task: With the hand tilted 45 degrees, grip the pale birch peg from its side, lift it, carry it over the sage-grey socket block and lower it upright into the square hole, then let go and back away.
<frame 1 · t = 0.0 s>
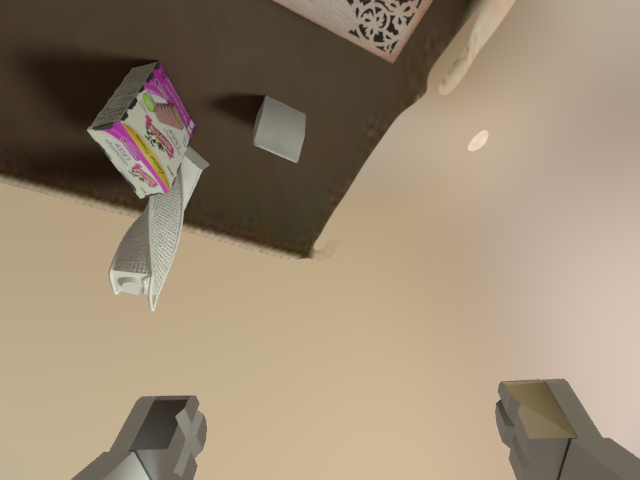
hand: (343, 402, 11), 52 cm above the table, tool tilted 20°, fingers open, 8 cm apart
grey bevelled box: (281, 113, 62), on the table
candy bar box: (166, 97, 60), on the table
skyscraper: (182, 162, 70), on the table
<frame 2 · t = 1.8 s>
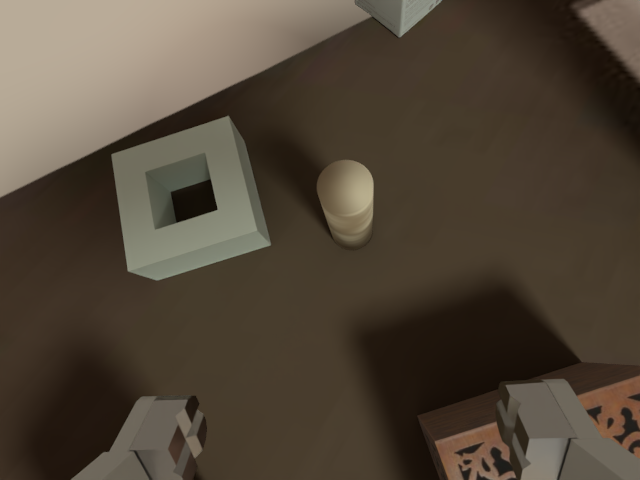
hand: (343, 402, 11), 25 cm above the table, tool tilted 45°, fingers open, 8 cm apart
peg: (351, 230, 38), on the table
socket block: (202, 208, 41), on the table
supplement box: (399, 4, 45), on the table
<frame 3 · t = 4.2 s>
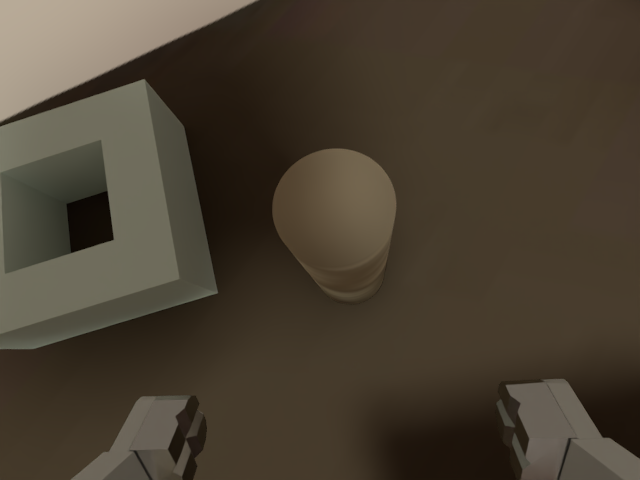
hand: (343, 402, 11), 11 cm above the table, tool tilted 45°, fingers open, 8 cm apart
peg: (350, 270, 23), on the table
socket block: (113, 231, 26), on the table
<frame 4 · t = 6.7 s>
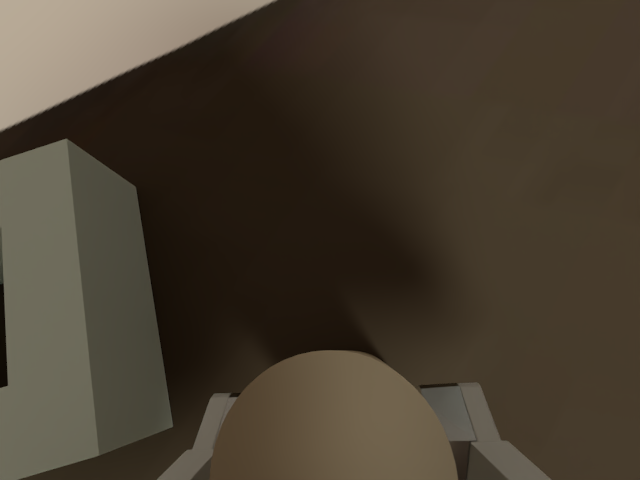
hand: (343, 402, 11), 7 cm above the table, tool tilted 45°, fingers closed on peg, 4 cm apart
peg: (354, 399, 17), on the table, touching gripper
socket block: (37, 331, 19), on the table
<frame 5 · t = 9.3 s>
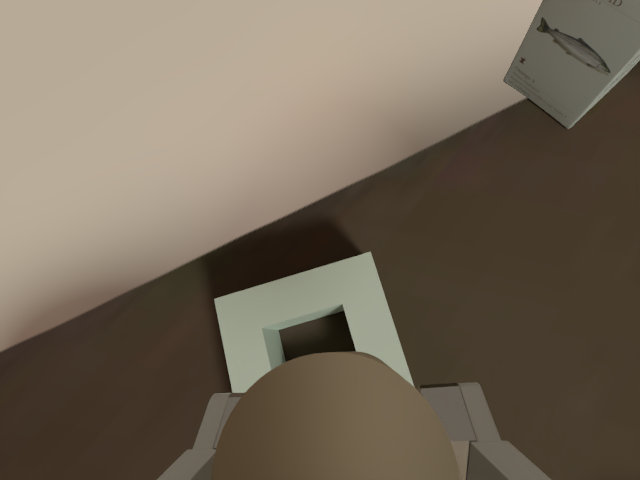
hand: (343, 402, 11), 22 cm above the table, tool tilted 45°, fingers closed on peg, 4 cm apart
peg: (355, 400, 17), point 15 cm above the table, touching gripper
socket block: (322, 356, 32), on the table
supplement box: (560, 81, 35), on the table
when the fingers open (8 cm above the table, at t = 12.0 s): peg drops 1 cm, resting in socket block.
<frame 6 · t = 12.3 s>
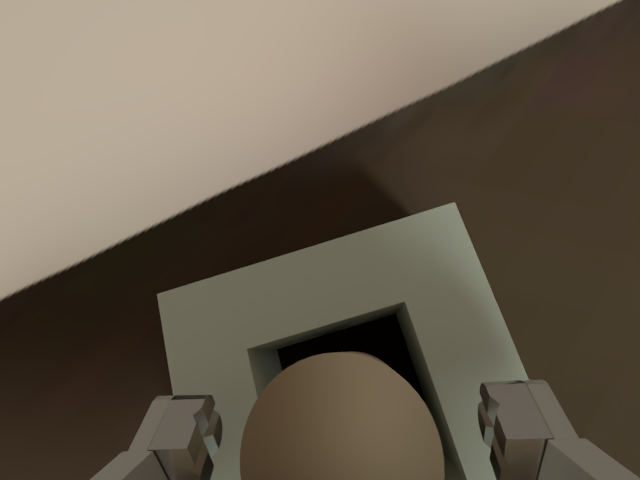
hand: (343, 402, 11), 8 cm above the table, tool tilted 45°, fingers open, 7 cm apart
peg: (356, 396, 18), resting in socket block
socket block: (354, 395, 18), on the table
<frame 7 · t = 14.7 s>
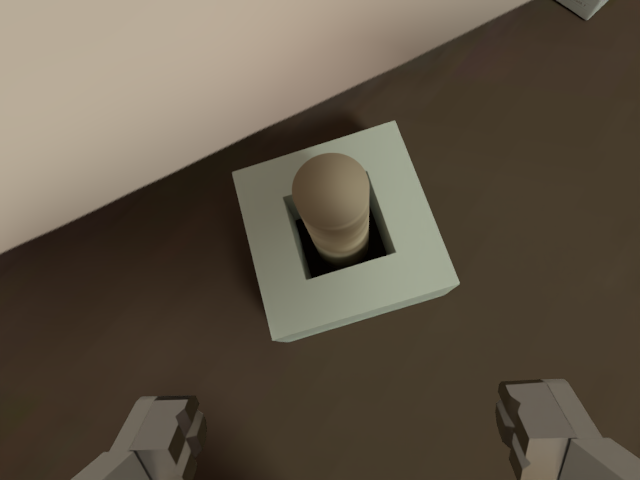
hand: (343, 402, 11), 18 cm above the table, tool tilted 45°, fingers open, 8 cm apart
peg: (342, 244, 31), resting in socket block
socket block: (342, 243, 31), on the table
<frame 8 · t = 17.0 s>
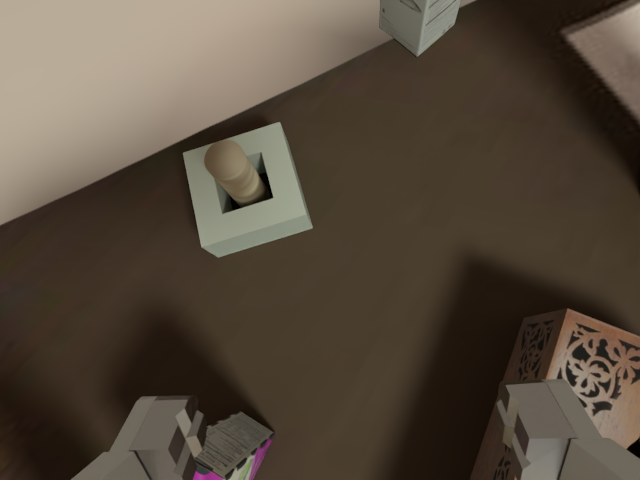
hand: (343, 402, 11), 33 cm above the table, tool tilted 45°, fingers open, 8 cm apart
tissue box cover: (556, 472, 38), on the table
peg: (254, 198, 49), resting in socket block
socket block: (254, 198, 49), on the table
candy bar box: (234, 470, 42), on the table
supplement box: (416, 28, 54), on the table
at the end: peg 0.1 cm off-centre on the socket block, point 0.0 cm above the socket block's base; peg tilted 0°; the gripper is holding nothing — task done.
